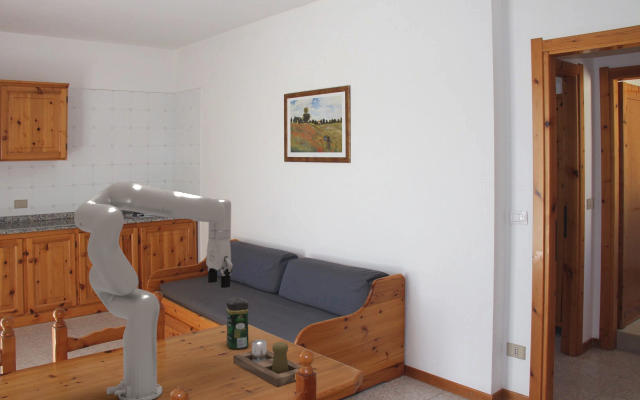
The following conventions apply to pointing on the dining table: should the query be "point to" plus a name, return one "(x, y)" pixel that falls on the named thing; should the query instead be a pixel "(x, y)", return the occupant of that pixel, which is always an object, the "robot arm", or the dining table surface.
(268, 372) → the socket board
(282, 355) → the olive brown tall piece
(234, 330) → the coffee jar
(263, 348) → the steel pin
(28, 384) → the dining table surface
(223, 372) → the dining table surface
